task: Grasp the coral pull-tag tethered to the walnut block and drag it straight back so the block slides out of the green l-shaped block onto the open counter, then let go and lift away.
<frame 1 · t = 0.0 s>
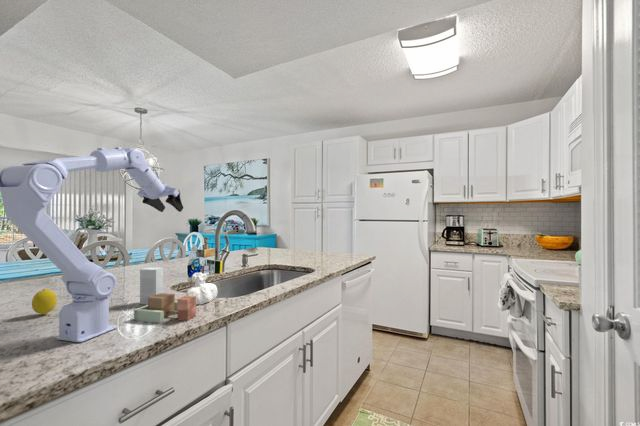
hand: (172, 209, 101), 32 cm above the counter, tool tilted 50°, fingers open, 7 cm apart
lemon: (44, 315, 88), on the counter
green l-shaped block: (161, 315, 87), on the counter
skincare box: (151, 303, 100), on the counter
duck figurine: (201, 302, 100), on the counter
tethered block: (161, 315, 87), on the counter
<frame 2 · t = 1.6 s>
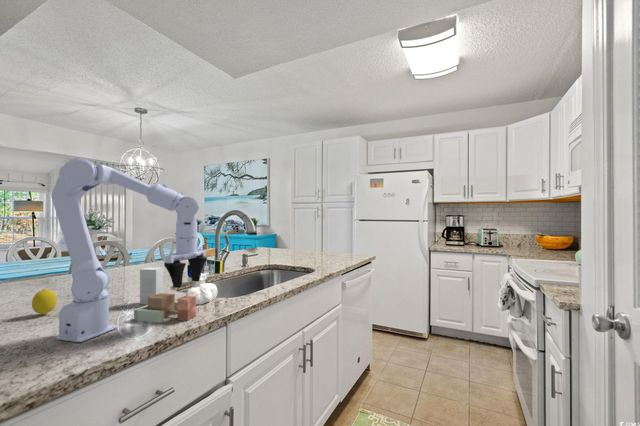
hand: (186, 284, 84), 10 cm above the counter, tool pointing down, fingers open, 7 cm apart
nothing on the counter moved.
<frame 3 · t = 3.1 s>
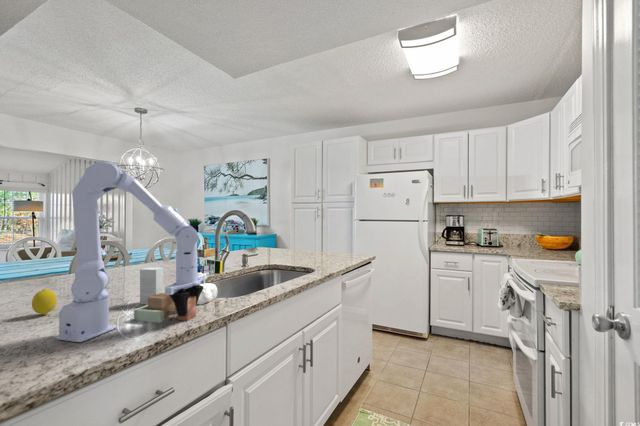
hand: (186, 313, 84), 1 cm above the counter, tool pointing down, fingers closed on tethered block, 3 cm apart
tethered block: (161, 315, 87), on the counter, touching gripper
everything else where it was.
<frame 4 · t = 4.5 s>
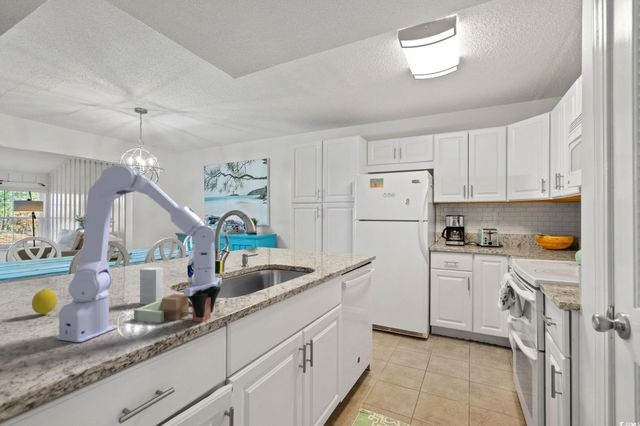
hand: (204, 314, 83), 1 cm above the counter, tool pointing down, fingers closed on tethered block, 3 cm apart
tethered block: (175, 316, 85), on the counter, touching gripper
everything else where it was.
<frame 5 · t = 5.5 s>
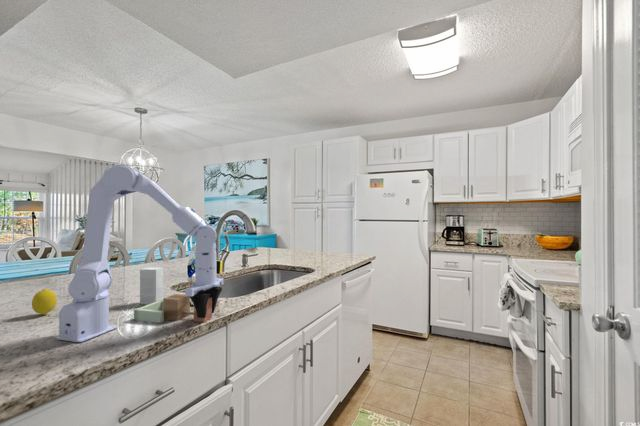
hand: (206, 315, 83), 1 cm above the counter, tool pointing down, fingers closed on tethered block, 3 cm apart
tethered block: (176, 317, 85), on the counter, touching gripper
everything else where it was.
when the fingers open (1 cm above the counter, at t = 5.8 s): tethered block stays where it is, on the counter.
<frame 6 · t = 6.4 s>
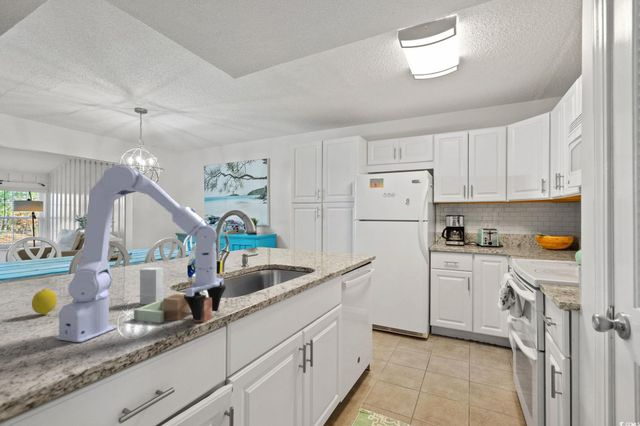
hand: (206, 315, 83), 1 cm above the counter, tool pointing down, fingers open, 7 cm apart
tethered block: (176, 317, 85), on the counter
everything else where it was.
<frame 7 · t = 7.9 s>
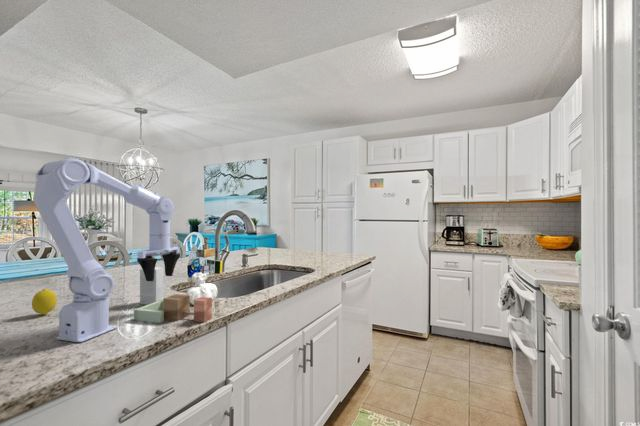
hand: (159, 278, 91), 10 cm above the counter, tool pointing down, fingers open, 7 cm apart
nothing on the counter moved.
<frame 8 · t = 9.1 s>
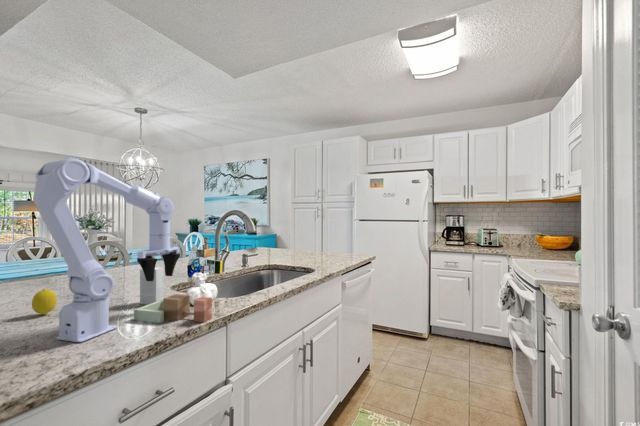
hand: (159, 278, 91), 10 cm above the counter, tool pointing down, fingers open, 7 cm apart
nothing on the counter moved.
at the end: tethered block inside the target area (4.2 cm from its centre), on the counter; the gripper is holding nothing; tethered block tilted 0° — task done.
